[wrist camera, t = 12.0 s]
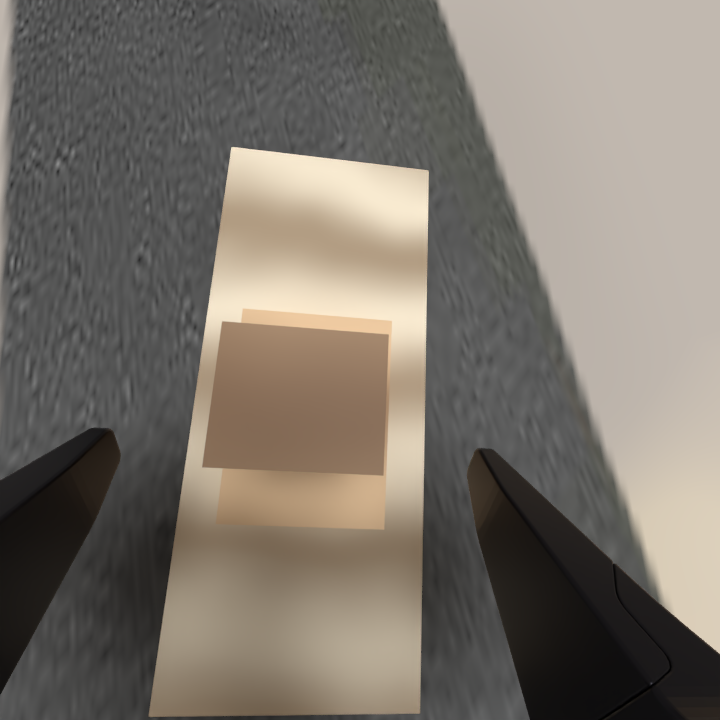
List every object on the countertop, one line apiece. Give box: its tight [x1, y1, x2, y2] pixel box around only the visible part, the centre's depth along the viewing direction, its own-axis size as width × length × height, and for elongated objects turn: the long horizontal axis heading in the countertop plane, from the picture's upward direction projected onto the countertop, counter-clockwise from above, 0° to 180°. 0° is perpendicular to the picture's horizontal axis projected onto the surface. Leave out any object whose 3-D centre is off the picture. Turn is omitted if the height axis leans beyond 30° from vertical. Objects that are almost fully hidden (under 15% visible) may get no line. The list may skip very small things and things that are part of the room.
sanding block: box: [202, 308, 392, 530], centre depth 12 cm, size 8×6×8 cm
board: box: [149, 147, 429, 717], centre depth 18 cm, size 24×10×3 cm, turn 177°
